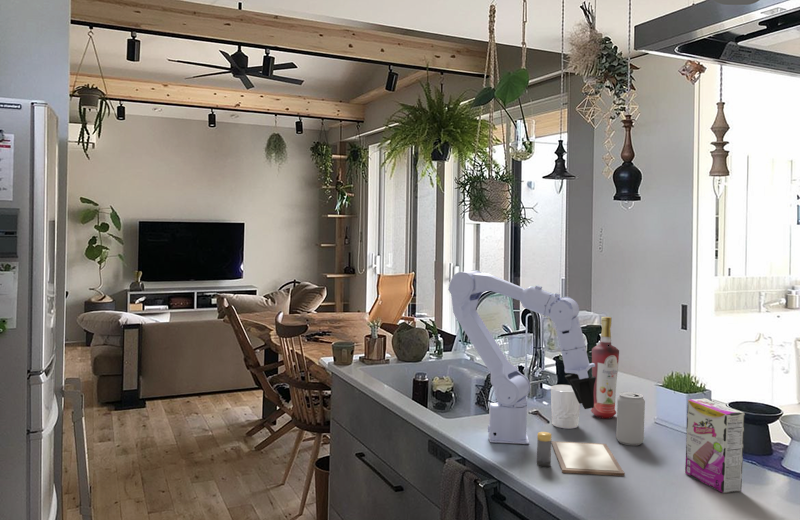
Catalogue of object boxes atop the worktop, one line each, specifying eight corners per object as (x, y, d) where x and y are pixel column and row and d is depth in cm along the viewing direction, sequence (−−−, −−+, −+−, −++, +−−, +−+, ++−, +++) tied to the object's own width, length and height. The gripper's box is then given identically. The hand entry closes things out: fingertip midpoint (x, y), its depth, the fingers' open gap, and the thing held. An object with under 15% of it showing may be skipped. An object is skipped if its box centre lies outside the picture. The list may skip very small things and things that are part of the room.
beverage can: (645, 447, 157) (647, 398, 156) (617, 445, 158) (619, 396, 158) (641, 439, 163) (643, 392, 163) (614, 437, 165) (616, 390, 164)
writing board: (562, 472, 140) (562, 469, 140) (551, 443, 159) (551, 440, 159) (624, 475, 139) (624, 472, 139) (606, 446, 158) (606, 443, 157)
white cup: (578, 421, 177) (579, 385, 177) (581, 430, 170) (582, 392, 169) (549, 419, 179) (550, 383, 178) (550, 428, 171) (551, 390, 171)
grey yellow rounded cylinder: (537, 467, 143) (538, 435, 143) (536, 462, 146) (536, 431, 146) (551, 467, 143) (552, 436, 142) (549, 463, 146) (550, 432, 145)
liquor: (598, 420, 178) (601, 319, 177) (584, 413, 186) (587, 315, 184) (622, 419, 180) (625, 318, 179) (607, 412, 187) (611, 315, 186)
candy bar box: (683, 474, 140) (686, 398, 140) (702, 471, 142) (705, 397, 141) (722, 494, 130) (725, 413, 129) (742, 492, 131) (746, 411, 130)
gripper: (595, 347, 146) (609, 407, 145) (584, 342, 160) (597, 397, 159) (564, 353, 147) (578, 413, 145) (556, 348, 161) (568, 402, 160)
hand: (586, 405), depth 152 cm, fingers open, 7 cm apart
